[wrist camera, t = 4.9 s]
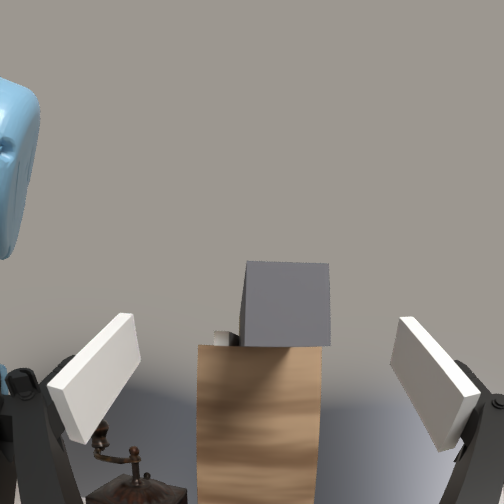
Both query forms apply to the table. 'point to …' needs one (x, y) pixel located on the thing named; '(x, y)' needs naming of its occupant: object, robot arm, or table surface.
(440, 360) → the robot arm
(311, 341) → the grey long bar
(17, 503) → the table surface
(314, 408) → the wooden block tower
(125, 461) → the coffee grinder
